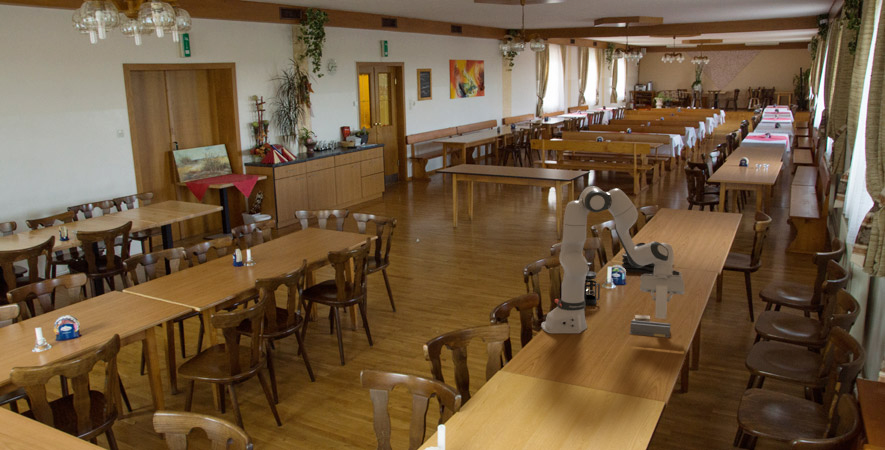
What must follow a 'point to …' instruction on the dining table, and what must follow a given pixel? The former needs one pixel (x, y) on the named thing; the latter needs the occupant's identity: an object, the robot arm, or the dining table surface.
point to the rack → (650, 328)
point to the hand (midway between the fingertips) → (661, 300)
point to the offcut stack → (642, 318)
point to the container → (629, 268)
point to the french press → (591, 288)
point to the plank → (661, 301)
